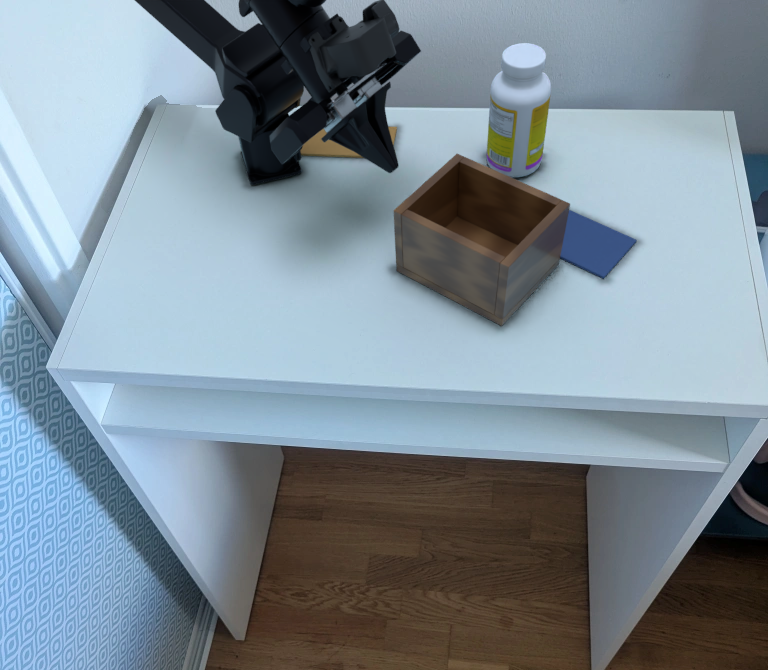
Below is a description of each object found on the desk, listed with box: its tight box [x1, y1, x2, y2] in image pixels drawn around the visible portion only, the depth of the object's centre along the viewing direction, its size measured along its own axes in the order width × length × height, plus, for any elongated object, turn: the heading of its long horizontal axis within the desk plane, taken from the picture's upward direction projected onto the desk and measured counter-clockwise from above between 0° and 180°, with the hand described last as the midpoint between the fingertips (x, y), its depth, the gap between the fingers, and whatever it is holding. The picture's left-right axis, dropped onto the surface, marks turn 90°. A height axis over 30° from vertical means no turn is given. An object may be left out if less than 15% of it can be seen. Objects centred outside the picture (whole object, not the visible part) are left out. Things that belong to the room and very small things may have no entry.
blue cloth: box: [560, 209, 638, 280], centre depth 85 cm, size 12×7×1 cm, turn 51°
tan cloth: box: [300, 125, 398, 159], centre depth 95 cm, size 12×6×1 cm, turn 82°
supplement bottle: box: [486, 42, 552, 178], centre depth 86 cm, size 7×7×13 cm
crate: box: [392, 153, 571, 327], centre depth 80 cm, size 14×11×8 cm
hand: (394, 170), depth 81 cm, fingers closed
